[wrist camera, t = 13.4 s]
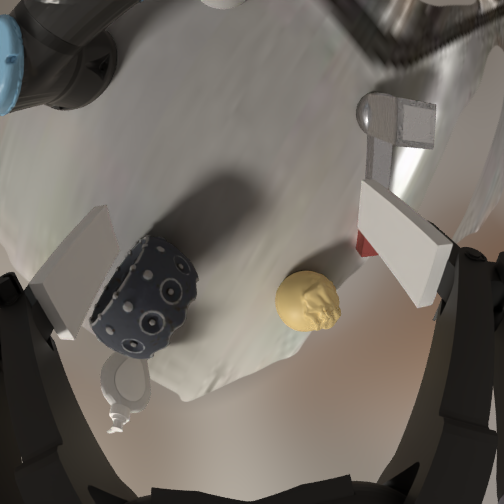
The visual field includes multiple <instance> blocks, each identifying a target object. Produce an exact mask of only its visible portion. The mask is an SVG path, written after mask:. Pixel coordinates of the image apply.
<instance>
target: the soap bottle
mask: <svg viewBox="0 0 504 504" xmlns="http://www.w3.org/2000/svg"><path fill="white" fill-rule="evenodd" d="M147 360H148V359H135V358H130V357H127V356H124V355H122V354H120V353H118V352H116V351H115V352H114V353H113V354H112V355H111V356H110V357H109V358H108V359H107V361H106V362H105V363H104V365H103V367H102V370H101V389H102V392H103V395H104V397H105V398H106V400H107V401H108V402H109V403H110V405H111V408H110V413H109V415H110V417H112V420H113V426H112V427H111V429H110V430H108V431H107V433H113V432H115V431H118V432H122V431H123V430H122V428H123V424H125V423H126V422H129V420H130V414H131V413H139V412H140V411H142V410H144V409H145V407H146V406H147V404H148V402H149V399H150V395H151V384H150V375H149V369H148V363H147Z"/></svg>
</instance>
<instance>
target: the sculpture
mask: <svg viewBox="0 0 504 504" xmlns="http://www.w3.org/2000/svg"><path fill="white" fill-rule="evenodd" d="M275 303H276V309H277V312H278V314H279V316H280V318H281V319H282V321H283V322H284V323H285V324H286V325H287V326H289V327H290V328H292V329H294V330H297V331H302V332H307V331H313V330H320V329H322V328H324V329H329V328H331V327H333V326H334V324H335V323H336V322H337V320H338V319H339V317H340V316H341V310H340V308H339V297H338V295H337V293H336V288H335V286H334V285H333V283H332V282H331V281H329V280H328V279H327V278H326V277H325V276H324V275H323V274H318V273H316V272H313V271H300V272H296V273H294V274H292V275H290V276H288V277H287V278H286V279H285V280H284V281H283V282H282V283H281V284H280V286H279V288H278V290H277V293H276V298H275Z"/></svg>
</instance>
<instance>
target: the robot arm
mask: <svg viewBox="0 0 504 504" xmlns="http://www.w3.org/2000/svg"><path fill="white" fill-rule="evenodd" d="M142 1H143V0H21V1H20V2H19V3H18V4H17V6H16V7H15V8H14V9H13V10H12V11H11V13H10V14H9V15H6V14H3V15H0V116H3V115H6V114H8V113H11V112H14V111H18V110H22V109H26V108H30V107H34V106H38V105H43V104H44V105H47V106H49V107H51V108H54V109H57V110H73V109H78V108H81V107H84V106H86V105H88V104H90V103H91V102H93V101H94V100H95V99H96V98H98V97H99V96H100V95H101V94H102V92H103V91H104V90H105V89H106V87H107V86H108V84H109V83H110V81H111V79H112V76H113V74H114V71H115V67H116V62H117V49H116V45H115V42H114V40H113V38H112V37H111V35H110V34H109V33H108V32H107V31H106V30H104V29H105V28H106V27H107V26H109V25H110V24H111V23H112V22H113V21H115V20H116V19H117V18H118V17H119V16H121V15H122V14H123V13H125V12H126V11H127V10H128V9H130V8H131V7H132V6H134V5H135V4H137V3H138V2H142ZM357 228H358V229H359V230H360V232H361V233H362V234H363V235H364V237H365V238H366V239H367V240H368V242H369V243H370V244H371V245H372V247H373V248H374V249H375V250H376V252H377V253H378V254H379V256H380V257H381V258H382V259H383V261H384V262H385V263H386V265H387V266H388V267H389V269H390V270H391V272H392V273H393V274H394V276H395V277H396V278H397V280H398V281H399V283H400V284H401V285H402V287H403V288H404V290H405V291H406V292H407V294H408V295H409V297H410V298H411V300H412V301H413V302H414V304H415V305H416V307H417V308H420V307H425V306H429V305H432V304H433V301H434V299H435V296H436V294H437V292H438V294H439V295H440V296H441V298H442V299H441V302H440V304H439V307H438V309H437V312H436V314H435V316H434V318H433V320H434V321H435V320H436V325H435V330H434V335H433V340H432V344H431V348H430V353H429V357H428V361H427V365H426V368H425V372H424V376H423V380H422V383H421V386H420V389H419V393H418V396H417V399H416V402H415V405H414V408H413V410H412V414H411V416H410V419H409V421H408V424H407V427H406V430H405V432H404V434H403V437H402V439H401V442H400V444H399V446H398V449H397V451H396V453H395V455H394V457H393V458H392V460H391V461H390V463H389V464H388V465H387V467H386V468H385V470H384V471H383V473H382V475H381V476H380V478H379V480H378V481H377V483H371V482H363V481H351V477H350V474H349V475H345V476H341V477H337V478H333V479H328V480H323V481H319V482H314V483H308V484H302V485H299V486H297V487H294V488H292V489H289V490H287V491H283V492H281V493H278V494H275V495H272V496H269V497H266V498H262V499H259V500H256V501H251V502H250V501H248V502H247V501H240V500H235V499H230V498H225V497H220V496H215V495H211V494H207V493H203V492H199V491H183V490H171V489H160V488H152V489H151V495H148V496H144V497H139V498H138V497H137V496H136V494H135V493H134V492H133V491H132V490H131V489H130V488H129V487H128V486H127V485H126V484H124V482H122V481H121V479H120V478H119V477H118V476H117V474H116V473H115V471H114V470H113V468H112V466H111V465H110V463H109V462H108V460H107V458H106V457H105V455H104V453H103V451H102V450H101V448H100V446H99V445H98V443H97V441H96V439H95V437H94V435H93V433H92V431H91V430H90V427H89V425H88V424H87V421H86V419H85V418H84V415H83V413H82V411H81V409H80V407H79V405H78V403H77V400H76V398H75V395H74V393H73V391H72V388H71V386H70V383H69V381H68V379H67V376H66V373H65V371H64V368H63V365H62V362H61V359H60V357H59V354H58V351H57V348H56V345H55V342H54V340H53V339H52V337H51V336H50V335H51V333H52V331H53V329H54V330H55V331H56V333H57V334H58V336H59V337H60V339H65V340H67V339H68V340H75V338H76V336H77V334H78V331H79V329H80V327H81V325H82V323H83V321H84V318H85V316H86V314H87V312H88V310H89V308H90V306H91V304H92V302H93V300H94V298H95V296H96V294H97V292H98V290H99V288H100V286H101V284H102V282H103V281H104V279H105V277H106V275H107V273H108V271H109V269H110V268H111V266H112V264H113V262H114V260H115V259H116V257H117V255H118V253H119V252H120V248H119V245H118V242H117V239H116V236H115V232H114V229H113V226H112V222H111V219H110V215H109V212H108V208H107V205H103V206H97V207H94V208H93V209H92V210H91V211H90V212H89V213H88V214H87V215H86V216H85V217H84V218H83V220H82V221H81V222H80V223H79V224H78V225H77V226H76V227H75V228H74V229H73V230H72V231H71V233H70V234H69V235H68V236H67V237H66V238H65V239H64V241H63V242H62V243H61V244H60V245H59V246H58V248H57V249H56V250H55V251H54V252H53V253H52V255H51V256H50V257H49V258H48V260H47V261H46V262H45V263H44V265H43V266H42V267H41V268H40V270H39V271H38V272H37V273H36V275H35V276H34V277H33V279H32V280H31V281H30V283H29V284H28V286H27V287H26V289H25V290H23V289H22V286H21V285H20V283H19V281H18V279H17V277H16V275H15V273H14V272H9V273H6V274H4V275H2V276H1V277H0V504H482V501H483V498H484V495H485V492H486V488H487V485H488V482H489V478H490V475H491V471H492V467H493V463H494V459H495V454H496V449H497V475H496V481H497V497H498V504H504V252H500V253H499V256H498V259H497V262H488V261H487V258H486V257H485V256H484V255H483V254H482V253H481V252H479V251H478V250H475V249H473V248H469V247H462V248H460V247H459V246H458V245H457V244H456V243H455V242H454V241H452V240H451V239H450V238H449V237H448V236H447V235H445V233H443V232H442V231H441V230H439V228H438V227H436V226H435V225H434V224H433V223H431V222H429V221H427V220H426V219H425V218H423V217H422V216H421V215H420V214H419V213H417V212H416V211H415V210H414V209H412V208H411V207H410V206H409V205H407V204H406V203H405V202H404V201H402V200H401V199H400V198H398V197H397V196H396V195H395V194H393V193H392V192H391V191H389V190H388V189H387V188H385V187H384V186H383V185H381V184H380V183H378V182H377V181H376V180H362V182H361V195H360V206H359V216H358V225H357ZM436 318H437V319H436ZM493 388H494V397H495V408H496V423H497V433H496V431H494V430H490V429H489V427H488V421H489V415H490V408H491V400H492V390H493ZM21 457H22V459H21ZM22 461H23V463H22Z"/></svg>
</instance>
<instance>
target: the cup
mask: <svg viewBox="0 0 504 504" xmlns="http://www.w3.org/2000/svg"><path fill="white" fill-rule="evenodd" d="M201 1H202V2H203V3H204V4H206V5H208V6H210V7H212V8H217V9H229V8H234V7H236V6H239V5H241V4H242V3H244V2H245V1H246V0H201Z"/></svg>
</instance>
